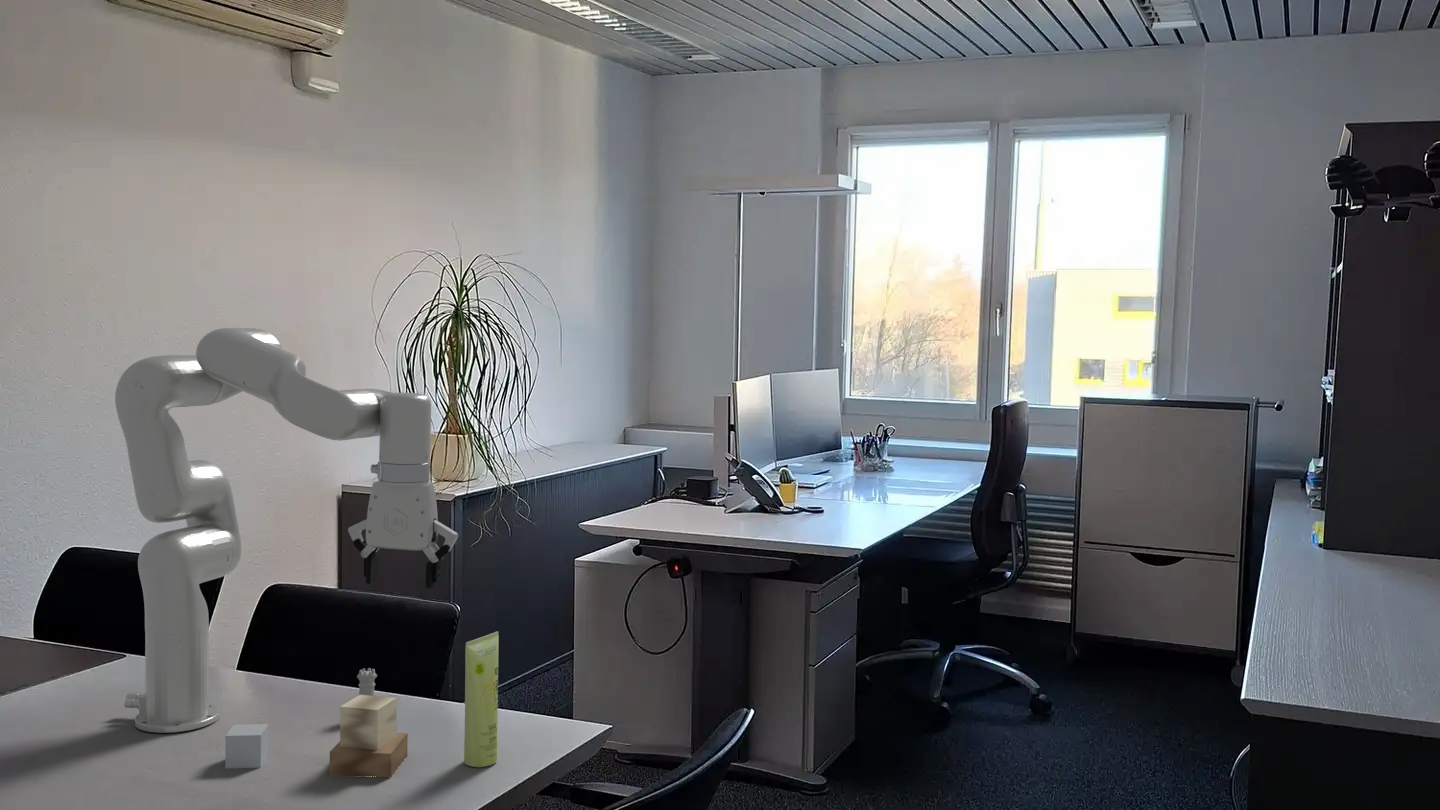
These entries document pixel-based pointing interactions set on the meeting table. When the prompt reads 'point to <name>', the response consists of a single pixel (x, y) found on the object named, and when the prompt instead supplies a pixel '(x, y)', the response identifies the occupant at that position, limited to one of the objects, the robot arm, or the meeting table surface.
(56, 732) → the meeting table surface
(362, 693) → the rook chess piece
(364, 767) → the walnut block
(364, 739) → the birch block
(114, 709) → the meeting table surface
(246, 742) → the grey block
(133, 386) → the robot arm
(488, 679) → the tube
